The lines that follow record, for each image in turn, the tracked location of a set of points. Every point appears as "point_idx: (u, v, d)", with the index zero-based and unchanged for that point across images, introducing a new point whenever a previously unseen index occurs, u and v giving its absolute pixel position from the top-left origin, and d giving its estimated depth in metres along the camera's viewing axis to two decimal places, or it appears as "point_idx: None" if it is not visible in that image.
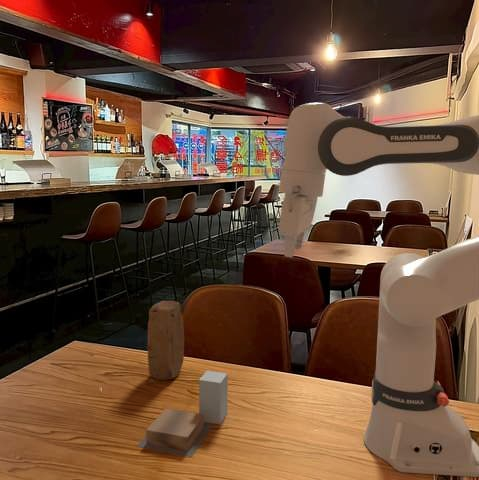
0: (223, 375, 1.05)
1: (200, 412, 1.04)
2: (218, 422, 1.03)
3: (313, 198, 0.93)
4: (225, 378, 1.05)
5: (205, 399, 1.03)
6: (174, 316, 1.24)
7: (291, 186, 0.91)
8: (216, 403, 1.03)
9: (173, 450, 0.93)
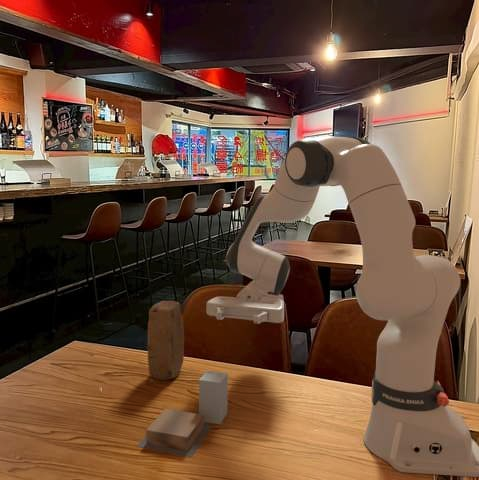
0: (223, 375, 1.05)
1: (200, 412, 1.04)
2: (218, 422, 1.03)
3: (245, 294, 1.25)
4: (225, 378, 1.05)
5: (205, 399, 1.03)
6: (174, 316, 1.24)
7: None
8: (216, 403, 1.03)
9: (173, 450, 0.93)
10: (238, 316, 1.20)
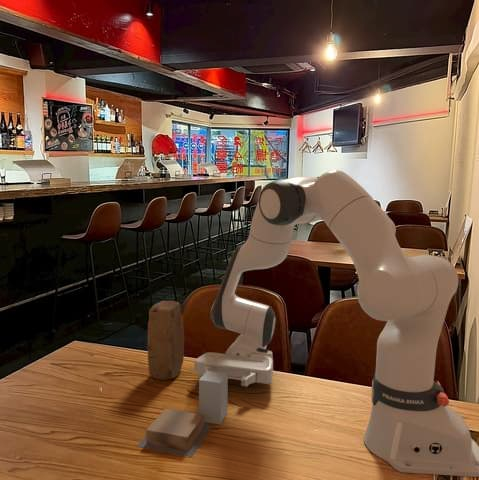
0: (223, 375, 1.05)
1: (200, 412, 1.04)
2: (218, 422, 1.03)
3: (234, 351, 1.24)
4: (225, 378, 1.05)
5: (205, 399, 1.03)
6: (174, 316, 1.24)
7: None
8: (216, 403, 1.03)
9: (173, 450, 0.93)
10: None
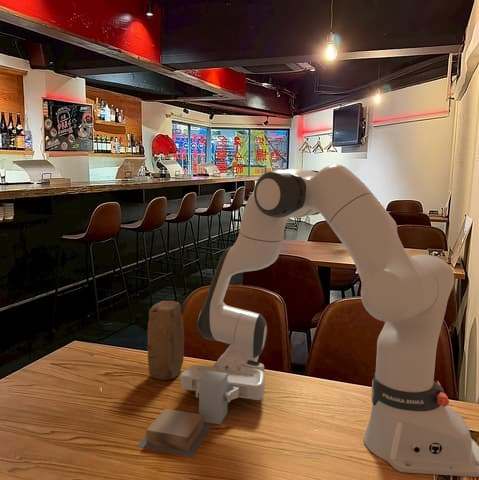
0: (223, 375, 1.05)
1: (200, 412, 1.04)
2: (218, 422, 1.03)
3: (223, 363, 1.16)
4: (225, 378, 1.05)
5: (205, 398, 1.03)
6: (174, 316, 1.24)
7: None
8: (216, 403, 1.03)
9: (173, 450, 0.93)
10: None
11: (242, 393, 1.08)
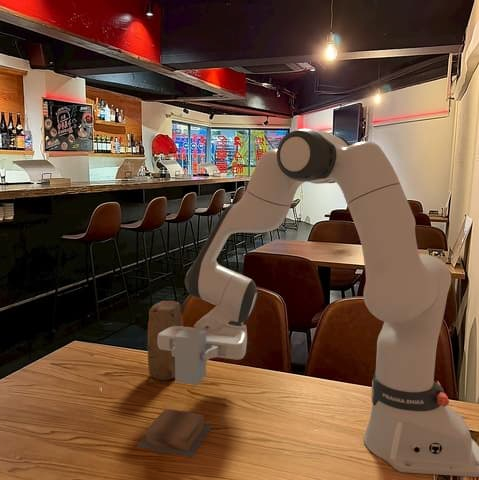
0: (201, 332, 0.99)
1: (176, 371, 0.98)
2: (195, 381, 0.97)
3: (203, 324, 1.10)
4: (203, 335, 0.99)
5: (181, 356, 0.97)
6: (174, 316, 1.24)
7: None
8: (193, 361, 0.97)
9: (173, 450, 0.93)
10: None
11: (222, 353, 1.02)
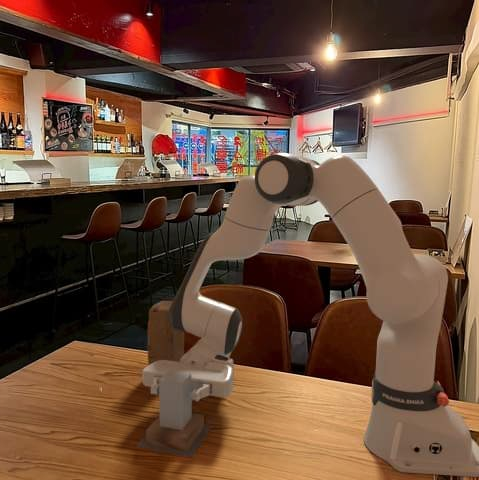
0: (186, 375, 0.97)
1: (161, 415, 0.96)
2: (180, 426, 0.95)
3: (189, 358, 1.07)
4: (188, 378, 0.97)
5: (165, 401, 0.95)
6: None
7: None
8: (178, 406, 0.95)
9: (173, 450, 0.93)
10: None
11: None
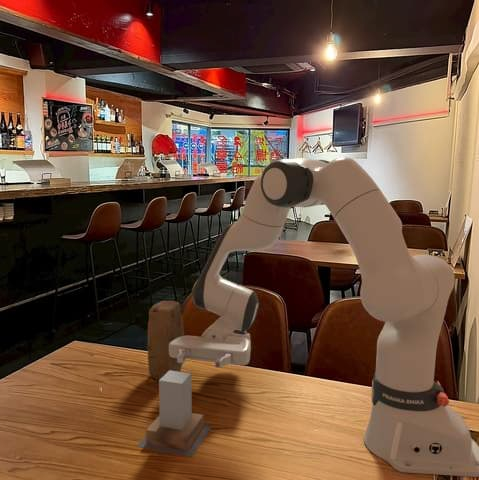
0: (186, 375, 0.97)
1: (161, 415, 0.96)
2: (180, 426, 0.95)
3: (210, 333, 1.19)
4: (188, 378, 0.97)
5: (165, 401, 0.95)
6: (174, 316, 1.24)
7: None
8: (178, 406, 0.95)
9: (173, 450, 0.93)
10: (201, 358, 1.14)
11: None
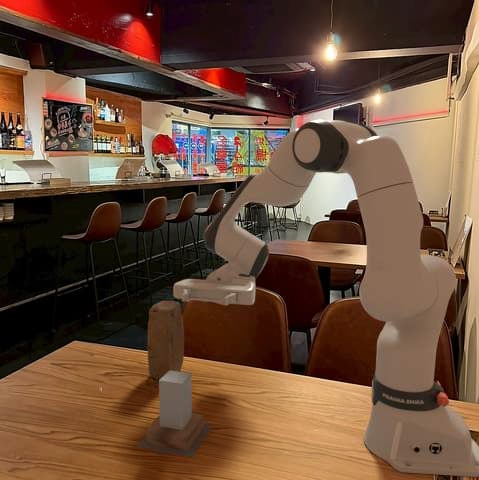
0: (186, 375, 0.97)
1: (161, 415, 0.96)
2: (180, 426, 0.95)
3: (215, 276, 1.19)
4: (188, 378, 0.97)
5: (165, 401, 0.95)
6: (174, 316, 1.24)
7: None
8: (178, 406, 0.95)
9: (173, 450, 0.93)
10: (206, 298, 1.13)
11: None
